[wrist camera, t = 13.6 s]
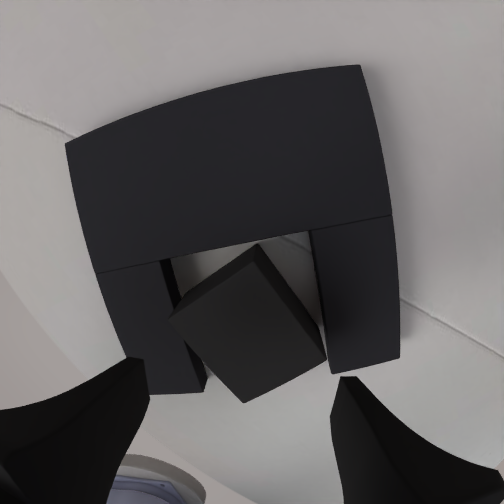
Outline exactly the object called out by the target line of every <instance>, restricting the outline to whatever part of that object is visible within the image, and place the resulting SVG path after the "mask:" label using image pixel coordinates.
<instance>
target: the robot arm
mask: <svg viewBox="0 0 504 504" xmlns="http://www.w3.org/2000/svg"><path fill="white" fill-rule="evenodd" d="M149 402H150V396H149V390H148V384H147V377H146V371H145V364H144V359H140V358H134V357H128V358H126V359H124V360H122V361H120V362H119V363H117V364H115V365H114V366H112V367H110V368H109V369H107V370H105V371H104V372H102V373H100V374H99V375H97V376H95V377H94V378H92V379H90V380H88V381H86V382H84V383H82V384H80V385H79V386H77V387H75V388H73V389H71V390H69V391H67V392H64V393H62V394H60V395H57V396H54V397H52V398H49V399H46V400H44V401H40V402H37V403H33V404H29V405H26V406H22V407H17V408H11V409H4V410H0V504H187V503H186V502H185V501H184V499H183V498H182V497H181V495H180V494H179V493H178V492H177V490H176V489H175V487H174V486H173V485H172V483H170V482H168V481H161V480H151V479H143V478H135V477H128V476H122V475H116V473H117V470H118V468H119V466H120V464H121V461H122V459H123V458H124V456H125V454H126V452H127V450H128V448H129V446H130V444H131V442H132V440H133V439H134V437H135V435H136V433H137V431H138V429H139V427H140V425H141V423H142V421H143V419H144V416H145V413H146V411H147V408H148V405H149ZM330 423H331V435H332V442H333V447H334V451H335V456H336V461H337V465H338V470H339V474H340V479H341V484H342V489H343V497H344V504H500V503H501V502H502V501H503V500H504V480H503V478H502V476H501V475H500V473H499V471H498V470H495V469H491V468H487V467H484V466H480V465H477V464H474V463H471V462H468V461H466V460H463V459H461V458H458V457H456V456H454V455H452V454H450V453H448V452H446V451H444V450H442V449H440V448H439V447H437V446H435V445H433V444H432V443H430V442H428V441H427V440H425V439H424V438H422V437H421V436H420V435H418V434H417V433H415V432H414V431H413V430H411V429H410V428H409V427H407V426H406V425H405V424H404V423H403V422H401V421H400V420H399V419H398V418H397V417H396V416H395V415H394V414H392V413H391V412H390V411H389V410H388V409H387V408H386V407H385V406H384V405H383V404H382V403H381V402H380V401H379V400H378V399H377V398H376V397H375V396H374V395H373V394H372V392H371V391H370V390H369V389H368V388H367V387H366V386H365V385H364V384H363V383H362V382H361V381H360V380H359V379H358V377H357V376H347V377H340V380H339V384H338V388H337V392H336V396H335V400H334V404H333V407H332V411H331V414H330Z"/></svg>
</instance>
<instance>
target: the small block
mask: <svg viewBox="0 0 504 504" xmlns="http://www.w3.org/2000/svg"><path fill="white" fill-rule="evenodd" d="M168 321H169V323H170V324H171V325H172V326H173V327H174V329H175V330H176V331H177V332H178V333H179V334H180V336H181V337H182V338H183V339H184V340H185V341H186V343H187V344H188V345H189V346H190V347H191V348H192V349H193V351H194V352H195V353H196V354H197V355H198V356H199V357H200V358H201V359H202V361H203V362H204V363H205V364H206V365H207V366H208V367H209V368H210V369H211V370H212V371H213V373H214V374H215V375H216V376H217V377H218V378H219V379H220V380H221V381H222V382H223V383H224V384H225V385H226V386H227V387H228V388H229V389H230V390H231V391H232V393H233V394H234V395H235V396H236V397H237V398H238V399H239V400H240V401H241V402H242V403H246V402H248V401H250V400H252V399H255V398H257V397H259V396H261V395H263V394H265V393H267V392H269V391H271V390H273V389H275V388H277V387H279V386H281V385H283V384H284V383H286V382H288V381H290V380H292V379H294V378H296V377H298V376H299V375H301V374H303V373H305V372H307V371H309V370H310V369H312V368H314V367H316V366H317V365H319V364H321V363H323V362H324V361H326V360H327V357H326V353H325V349H324V345H323V342H322V338H321V334H320V330H319V327H318V325H317V324H316V322H315V321H314V320H313V318H312V317H311V316H310V314H309V313H308V311H307V310H306V309H305V307H304V306H303V304H302V303H301V302H300V300H299V299H298V298H297V296H296V295H295V293H294V292H293V291H292V289H291V288H290V286H289V285H288V284H287V282H286V281H285V280H284V278H283V277H282V275H281V274H280V273H279V271H278V270H277V269H276V267H275V266H274V264H273V263H272V262H271V260H270V259H269V258H268V256H267V255H266V254H265V252H264V251H263V249H262V248H261V247H260V245H259V244H255V245H254V246H253V247H251V248H250V249H248V250H247V251H245V252H244V253H242V254H241V255H240V256H238V257H237V258H235V259H234V260H232V261H231V262H230V263H228V264H227V265H225V266H224V267H222V268H221V269H219V270H218V271H217V272H215V273H214V274H212V275H211V276H209V277H208V278H207V279H205V280H204V281H202V282H201V283H199V284H198V285H197V286H195V287H194V288H192V289H191V290H189V291H188V292H187V293H186V294H185V295H184V297H183V298H182V299H181V301H180V302H179V304H178V305H177V306H176V308H175V309H174V311H173V312H172V313H171V315H170V316H169V318H168Z"/></svg>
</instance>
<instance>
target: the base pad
mask: <svg viewBox="0 0 504 504" xmlns="http://www.w3.org/2000/svg"><path fill="white" fill-rule="evenodd" d="M65 148H66V155H67V161H68V166H69V172H70V177H71V182H72V187H73V192H74V197H75V201H76V206H77V210H78V214H79V218H80V222H81V226H82V230H83V234H84V238H85V241H86V245H87V248H88V252H89V255H90V259H91V262H92V265H93V269H94V272H95V274H96V278H97V281H98V284H99V287H100V290H101V293H102V296H103V299H104V301H105V304H106V307H107V310H108V313H109V315H110V318H111V321H112V323H113V326H114V328H115V331H116V333H117V336H118V338H119V341H120V343H121V346H122V348H123V350H124V353H125V355H126V357H127V358H128V357H134V358H140V359H144V364H145V371H146V377H147V384H148V390H149V395H161V394H185V393H201V392H204V389H205V385H206V382H207V379H208V378H207V375H206V372H205V370H204V367H203V364H202V361H201V358H200V357H199V356H198V355H197V354H196V353H195V352H194V351H193V349H192V348H191V347H190V346H189V345H188V344H187V343H186V341H185V340H184V339H183V338H182V337H181V336H180V334H179V333H178V332H177V331H176V330H175V329H174V327H173V326H172V325H171V324H170V323H169V321H168V318H169V316H170V315H171V313H172V312H173V311H174V309H175V308H176V306H177V305H178V304H179V302H180V301H181V296H180V293H179V290H178V286H177V283H176V279H175V276H174V273H173V269H172V265H171V262H170V258H173V257H178V256H183V255H188V254H193V253H197V252H202V251H207V250H212V249H217V248H222V247H227V246H232V245H237V244H242V243H247V242H252V241H257V240H262V239H267V238H272V237H277V236H282V235H288V234H293V233H298V232H303V231H309V237H310V243H311V248H312V254H313V260H314V266H315V272H316V278H317V284H318V291H319V297H320V304H321V311H322V318H323V325H324V332H325V340H326V347H327V355H328V362H329V366H330V370H331V373H332V374H337V373H341V372H346V371H351V370H355V369H359V368H363V367H368V366H372V365H376V364H380V363H383V362H387V361H391V360H395V359H398V358H400V300H399V280H398V265H397V253H396V243H395V233H394V224H393V216H392V207H391V200H390V193H389V187H388V181H387V175H386V169H385V164H384V158H383V153H382V148H381V143H380V139H379V134H378V130H377V125H376V121H375V117H374V113H373V109H372V105H371V101H370V97H369V93H368V90H367V86H366V83H365V79H364V76H363V72H362V69H361V66H360V65H347V66H336V67H327V68H318V69H311V70H303V71H297V72H290V73H284V74H279V75H273V76H268V77H262V78H257V79H253V80H248V81H243V82H239V83H235V84H230V85H226V86H222V87H218V88H214V89H211V90H207V91H203V92H200V93H196V94H193V95H189V96H186V97H182V98H179V99H176V100H173V101H170V102H167V103H164V104H161V105H158V106H155V107H152V108H149V109H146V110H143V111H141V112H138V113H135V114H132V115H130V116H127V117H125V118H122V119H119V120H117V121H114V122H112V123H110V124H107V125H105V126H102V127H100V128H98V129H95V130H93V131H91V132H89V133H86V134H84V135H82V136H80V137H78V138H76V139H73V140H71V141H69V142H67V143H65Z"/></svg>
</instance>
